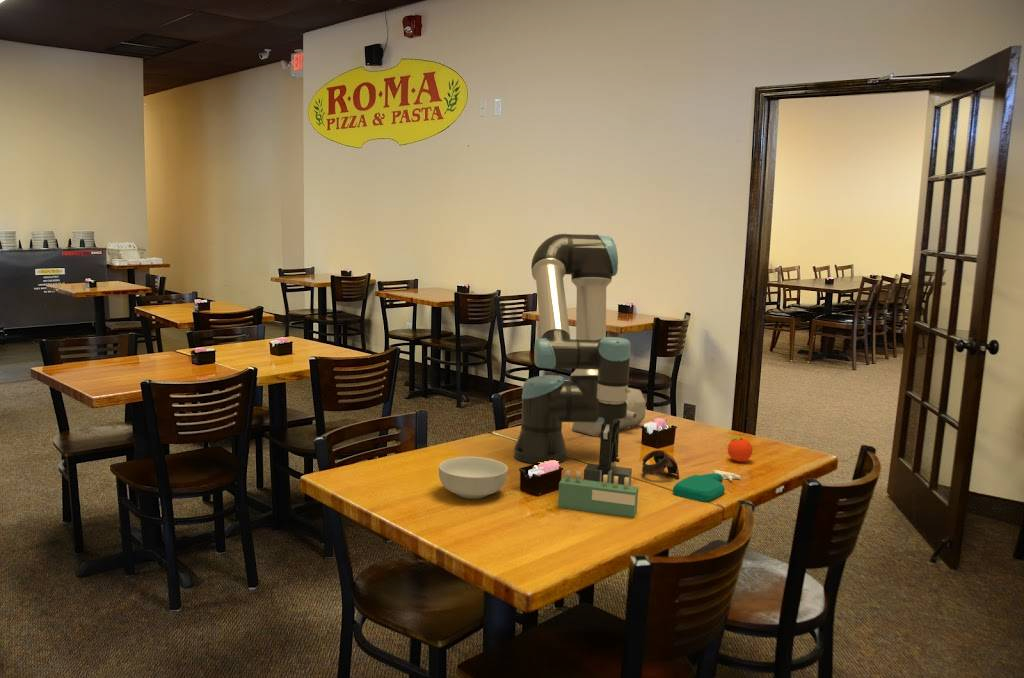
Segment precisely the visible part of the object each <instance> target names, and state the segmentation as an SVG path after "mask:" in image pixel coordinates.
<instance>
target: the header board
mask: <svg viewBox="0 0 1024 678" xmlns="http://www.w3.org/2000/svg"><path fill="white" fill-rule="evenodd" d="M607 478H608V475H603V482H597V481H589V480H584V479H582V478H581V471H579V470H577V471H576V472H575V478H572V477H571V470H570V469H565V476H564V477H562V479H561V480H560V481H559V482H558V498H557V499H558V500H557V501H558V503H557V508H560V509H561V508H562V509H569V510H576V511H583V512H590V513H595V514H596V513H597V514H604V515H609V516H610V515H611V516H617V517H626V518H633V519H634V518H635V516H636V515H637V512H638V503H639V502H638V501H639V500H638V499H639V486H633V485H631V486H629V478H628V477H625V479H624V485H621V484H618V476H614V484H613V483H607Z"/></svg>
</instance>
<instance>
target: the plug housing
mask: <svg viewBox="0 0 1024 678" xmlns="http://www.w3.org/2000/svg"><path fill="white" fill-rule="evenodd" d="M597 467H599V463H598V464H596V463H587V465H586V467H584V470H583V480H589V481H597V482H600V470H597ZM611 470H612V472H611V483H613V484H614V476H618V484H621V485H624V479H625V477H628V478H629V486H632V475H633V474H632V472H633V471H632V470H633V469H632V467H624V466H617V465H616V466H611Z"/></svg>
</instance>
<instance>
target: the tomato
mask: <svg viewBox="0 0 1024 678" xmlns="http://www.w3.org/2000/svg"><path fill="white" fill-rule="evenodd" d="M729 440H731V441H730V442H729V444H728V447H727V454H728V456H729V457H730V458H731V459H732V460H733V461H735V462H737V463H741V462H742V463H743V462H745V461H747V460H749V459H751V457H752V455H753V446H752V444H751V442H750V441H749V440H748V439H746V438H743V437H732V438H729V439H727V441H725V443H724V445H725V444H726V443H727V442H728V441H729Z"/></svg>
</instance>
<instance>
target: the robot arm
mask: <svg viewBox="0 0 1024 678" xmlns="http://www.w3.org/2000/svg"><path fill="white" fill-rule="evenodd" d="M535 250H536V251H535V252H534V254H533V257H532V259H531V266H530V267H531V268H530V269H531V275H532V278H533V279H534V281H535V283H536V284H535V285H536V294H537V296H536V297H537V306H538V316H539V328H540V338H537V339H536V340H535V342H534V347H533V348H534V351H533V352H534V353H533V354H534V357H533V358H534V359H533V360H534V365H535V366H536V367H538V368H541V369H550V370H554V369H561V370H562V369H566V370H567V369H568V370H569V369H571V370H573V369H574V371H573V372H571V374H570V380H569V381H567V380H565V379H564V376H562V375H559V374H558V375H557V374H556V375H554V374H548V375H545V374H544V375H538V376H533V377H531V378H528V379H526V380H525V381H524V383H523V385H522V386H523V387H522V393H521V403H522V404H521V418H520V419H521V421H520V422H521V423H520V432H519V434H518V436H517V437H518V438H517V441H516V443H515V446H514V449H513V457H514V458H515V460H517V459H518V461H519V462H522V461H523V462H522V463H526V462H528V463H527V464H532V463H538V462H544V461H549V460H556V461H559V462H560V463H562V462H565V461H566V460H567V457H568V456H567V453H568V450H567V447H566V443H565V440H564V439H565V438H564V435H563V432H562V431H563V429H562V428H563V423H574V422H583V423H599V422H604V423H603V424H602V425H601V432H600V435H599V437H600V440H599V441H600V444H599V458H598V464H599V467H597V470H600V482H603V475H608V478H607V483H611V472H612V470H611V466H616V467H617V463H620V458H619V443H620V442H619V440H620V439H619V437H620V430H619V428H620V420H618V419H623V418H625V417H626V415H627V403H626V402H625V401H626V400H627V394H628V393H630V389H627V388H629V379H630V378H629V376H630V361H631V360H630V359H631V355H632V353H631V342H630V340H628V339H627V338H623V337H618V336H615V337H614V336H608V337H607V287H608V286H610V284H611V283H612V280H613V278H612V277H615V276H616V275H617V273H618V270H619V267H618V265H619V257H618V256H619V255H618V251H617V250H618V249H617V246H616V243H615V241H614V239H613V237H611V236H609V235H600V234H598V233H597V234H571V233H568V234H567V233H558V234H555V235H552V236H550V237H548V238H547V239H545V240H544V241H543V242H542V243H541V244H540V245H539V246H538V248H537V249H535ZM565 275H569V276H570V275H571V276H570V277H571V279H570V281H571V283H572V284H573V285H575V287H576V316H575V317H576V318H575V319H576V320H575V321H576V322H575V323H576V324H575V326H576V328H575V339H571V335H570V333H571V332H570V324H569V316H568V310H567V309H568V307H567V301H566V293H565V283H564V278H565Z"/></svg>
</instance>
